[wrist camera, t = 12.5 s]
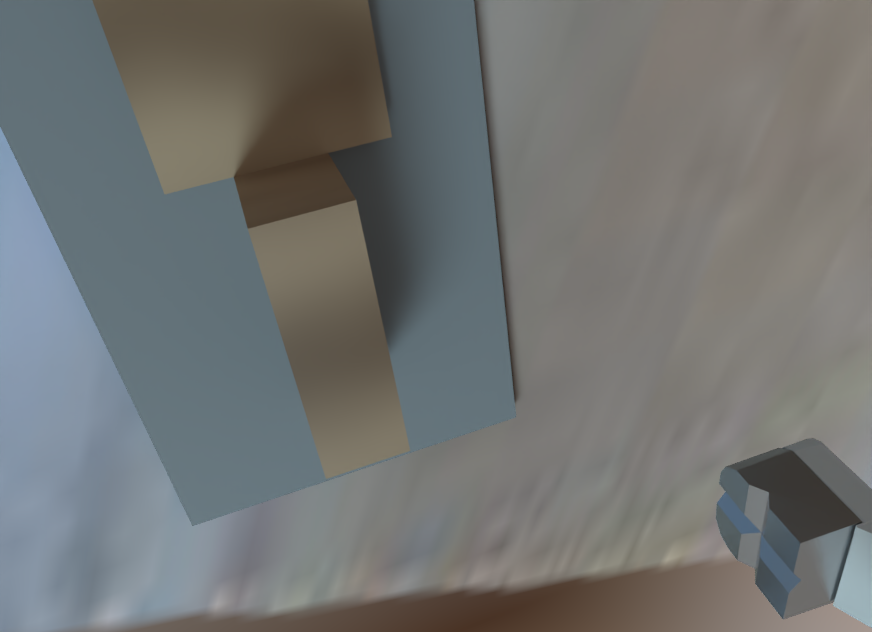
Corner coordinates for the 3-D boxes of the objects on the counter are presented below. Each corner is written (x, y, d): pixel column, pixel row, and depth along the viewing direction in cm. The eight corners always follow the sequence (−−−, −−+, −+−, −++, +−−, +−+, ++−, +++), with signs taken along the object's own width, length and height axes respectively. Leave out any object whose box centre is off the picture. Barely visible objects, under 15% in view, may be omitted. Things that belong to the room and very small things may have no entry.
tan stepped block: (425, 356, 25) (467, 431, 22) (248, 411, 24) (264, 499, 21) (339, -122, 17) (383, -113, 14) (69, -72, 16) (51, -51, 13)
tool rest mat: (441, -248, 17) (448, -250, 17) (510, 409, 28) (516, 417, 28) (-129, -158, 15) (-138, -159, 15) (192, 515, 26) (192, 526, 26)
